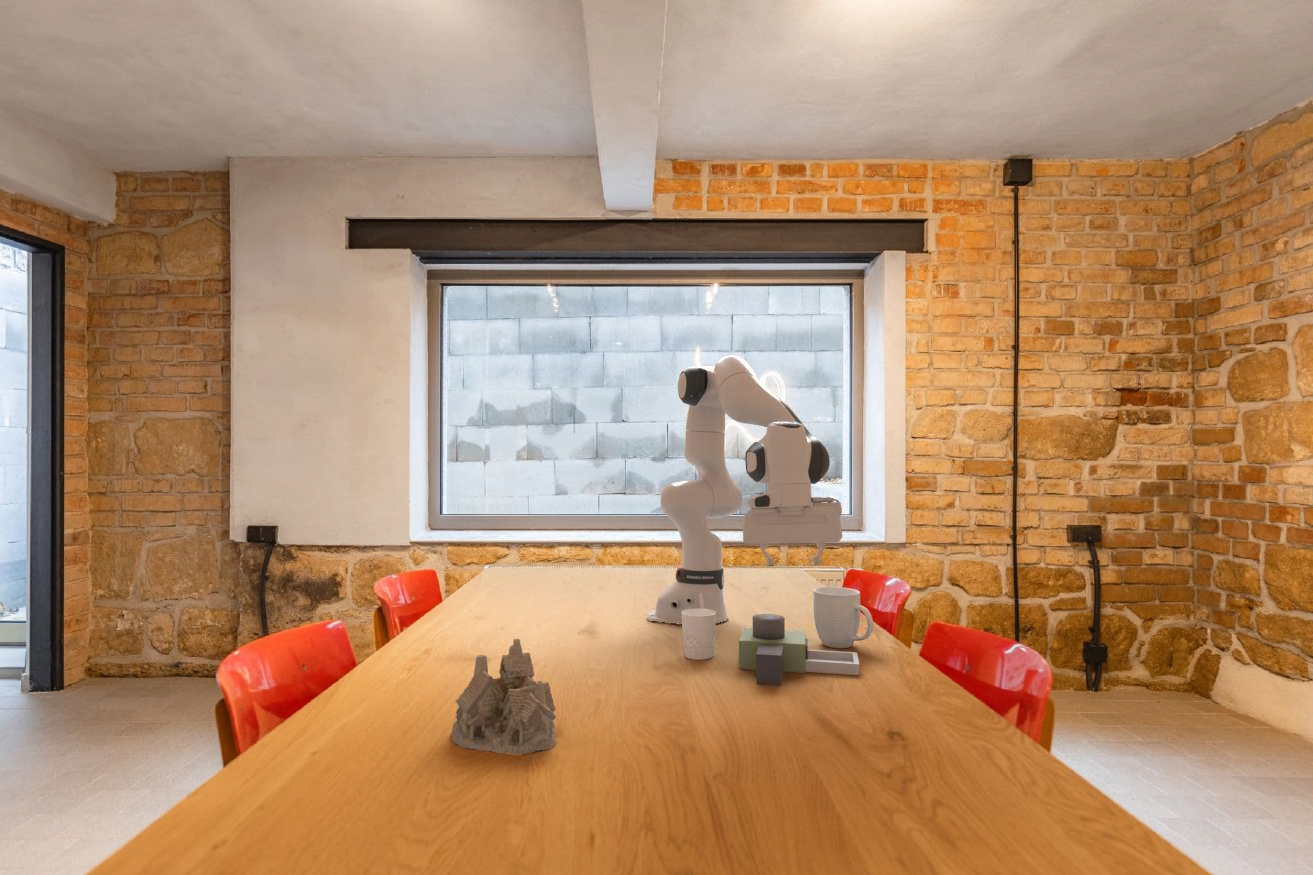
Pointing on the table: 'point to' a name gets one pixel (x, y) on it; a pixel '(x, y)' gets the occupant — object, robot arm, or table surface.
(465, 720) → the ceramic cottage
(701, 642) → the white cup
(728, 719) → the table surface
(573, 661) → the table surface
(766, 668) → the tall grey rectangular block
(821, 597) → the mug
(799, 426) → the robot arm
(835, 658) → the green box with dome
